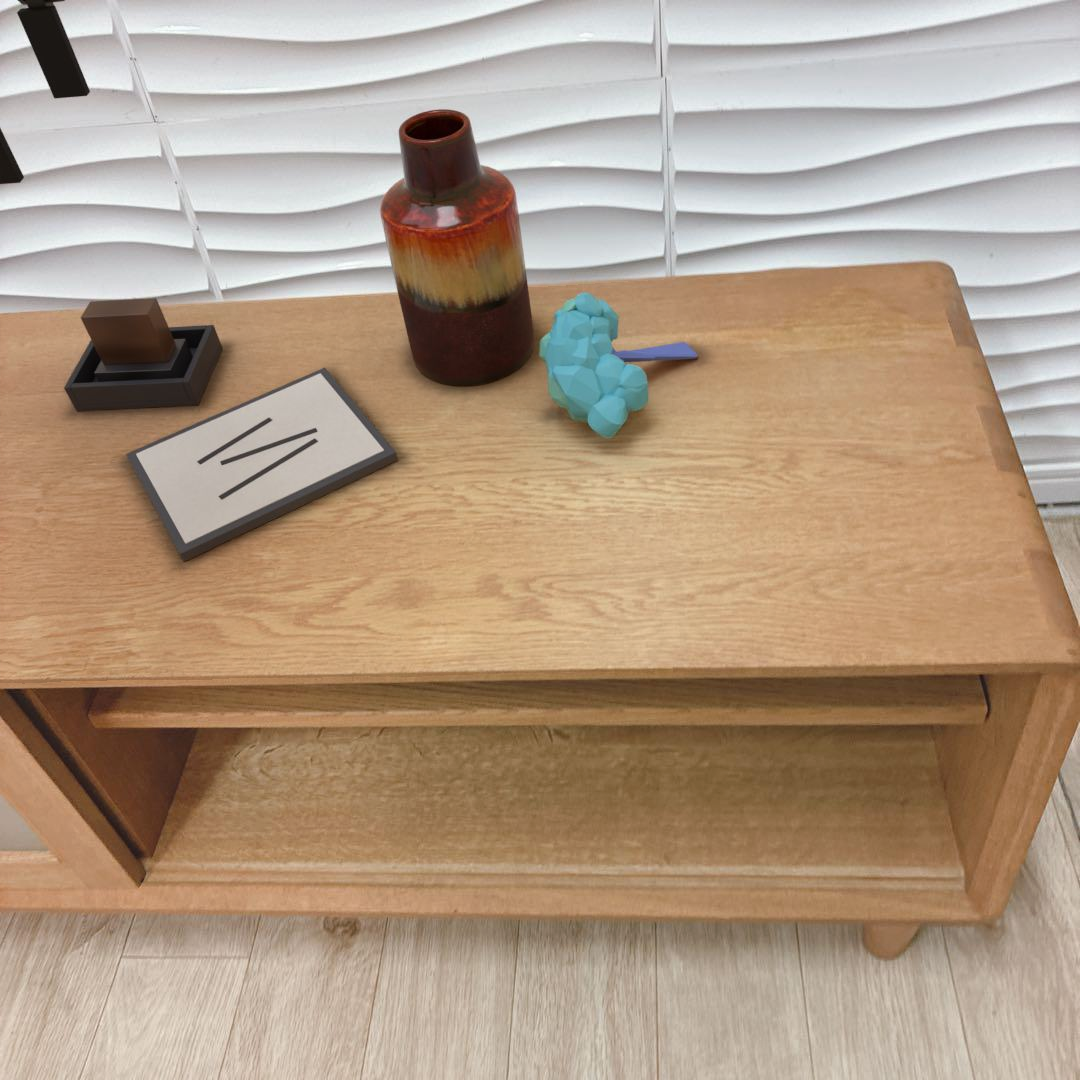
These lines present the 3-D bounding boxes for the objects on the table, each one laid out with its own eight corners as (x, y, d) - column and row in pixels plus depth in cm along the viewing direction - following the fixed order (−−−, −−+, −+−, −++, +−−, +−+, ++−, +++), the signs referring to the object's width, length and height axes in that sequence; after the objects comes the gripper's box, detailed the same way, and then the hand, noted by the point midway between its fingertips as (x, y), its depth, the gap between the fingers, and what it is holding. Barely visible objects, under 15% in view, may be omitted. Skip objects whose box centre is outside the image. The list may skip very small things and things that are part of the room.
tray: (75, 411, 94) (63, 387, 92) (106, 354, 100) (95, 331, 98) (198, 405, 93) (188, 381, 91) (222, 348, 98) (213, 324, 97)
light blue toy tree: (598, 366, 97) (485, 369, 86) (658, 292, 92) (546, 285, 81) (668, 457, 94) (560, 473, 82) (735, 386, 89) (629, 393, 77)
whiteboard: (183, 562, 80) (179, 552, 79) (129, 461, 89) (124, 452, 88) (398, 460, 85) (395, 450, 84) (327, 375, 94) (324, 365, 93)
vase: (530, 305, 98) (502, 84, 83) (538, 378, 91) (509, 149, 76) (413, 320, 98) (365, 102, 84) (412, 394, 91) (358, 168, 76)
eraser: (102, 391, 95) (69, 325, 90) (119, 359, 98) (88, 294, 93) (178, 387, 94) (149, 321, 89) (193, 356, 97) (165, 290, 92)
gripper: (-161, -149, 56) (23, 220, 71) (23, -256, 73) (139, 60, 88) (-292, -135, 57) (-83, 227, 72) (-80, -243, 74) (53, 68, 89)
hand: (40, 136), depth 80 cm, fingers open, 13 cm apart
